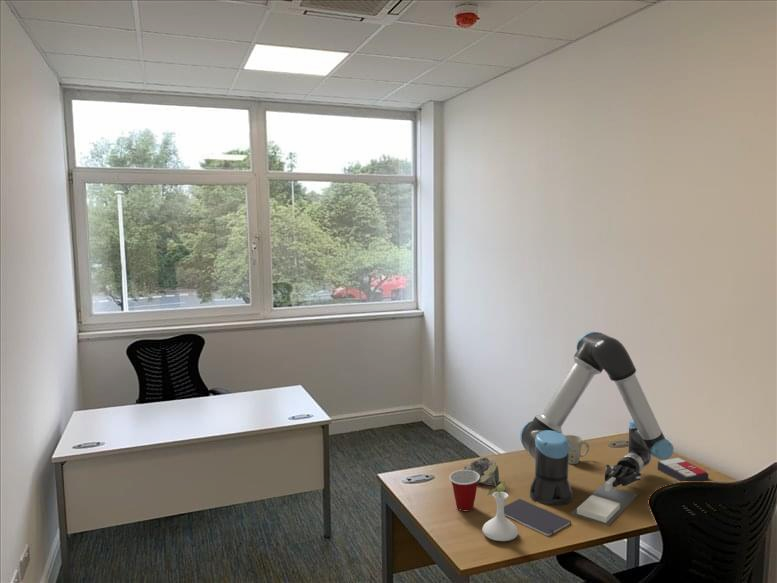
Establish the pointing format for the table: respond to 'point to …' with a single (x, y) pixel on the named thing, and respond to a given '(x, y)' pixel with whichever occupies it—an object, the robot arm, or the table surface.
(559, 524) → the notebook
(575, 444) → the mug
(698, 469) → the calculator
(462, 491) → the plastic cup
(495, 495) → the flower in vase
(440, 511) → the table surface
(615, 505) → the tile
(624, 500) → the mat
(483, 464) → the mineral rock
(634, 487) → the table surface
